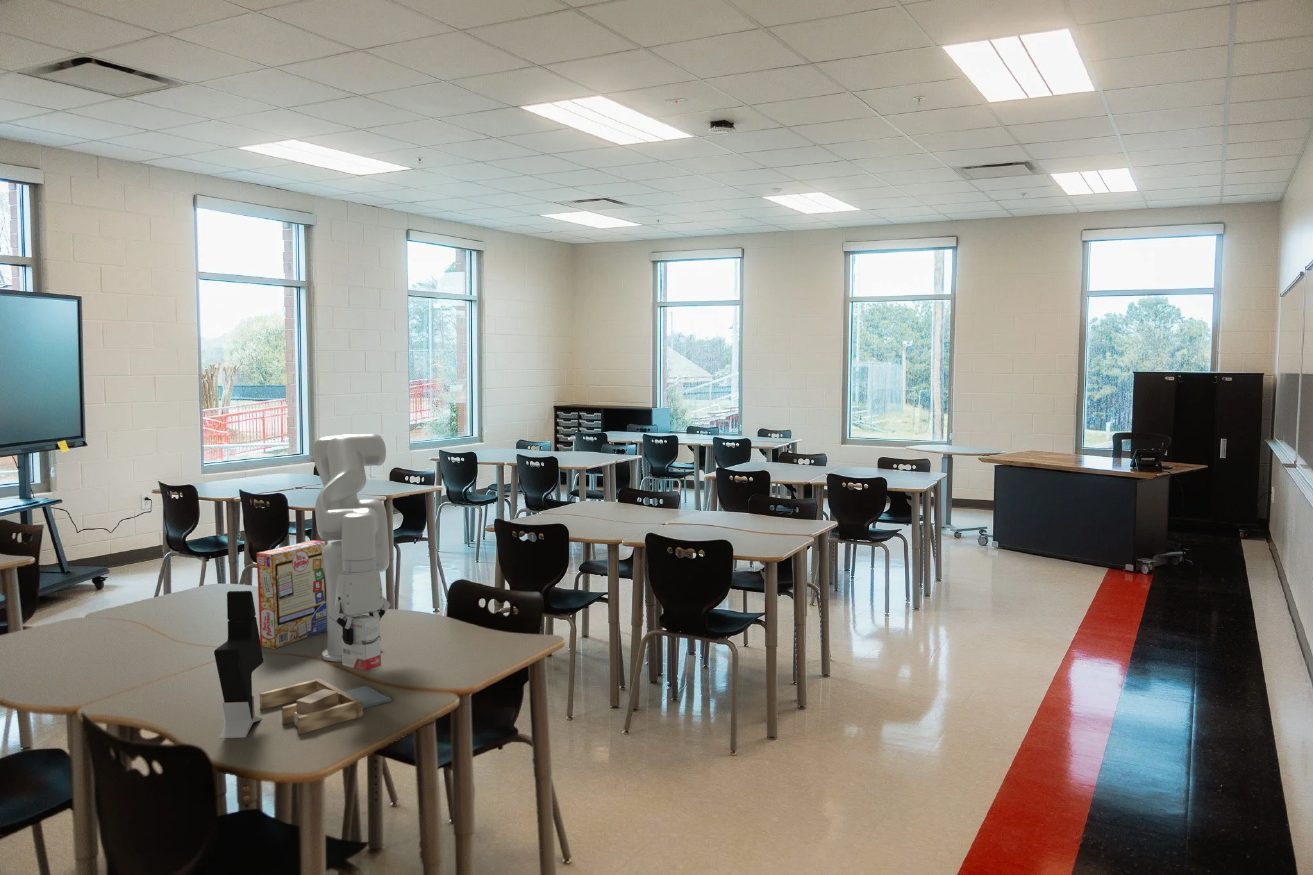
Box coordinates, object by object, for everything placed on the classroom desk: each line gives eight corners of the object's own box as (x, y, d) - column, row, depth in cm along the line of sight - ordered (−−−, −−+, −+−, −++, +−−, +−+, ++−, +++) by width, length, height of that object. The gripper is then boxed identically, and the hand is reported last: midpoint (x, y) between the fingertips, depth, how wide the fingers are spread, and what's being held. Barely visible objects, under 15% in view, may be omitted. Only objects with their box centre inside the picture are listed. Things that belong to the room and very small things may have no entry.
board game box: (315, 628, 276) (312, 539, 274) (330, 630, 273) (328, 541, 271) (258, 646, 257) (256, 551, 255) (274, 649, 255) (271, 553, 253)
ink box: (382, 665, 216) (381, 616, 215) (365, 671, 212) (364, 621, 211) (357, 659, 220) (356, 611, 220) (341, 665, 216) (339, 616, 215)
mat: (365, 688, 224) (365, 685, 224) (390, 700, 215) (390, 698, 215) (334, 696, 218) (334, 694, 218) (358, 709, 210) (358, 707, 210)
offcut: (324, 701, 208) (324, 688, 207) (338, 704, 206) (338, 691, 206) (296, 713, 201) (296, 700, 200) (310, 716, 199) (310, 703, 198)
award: (242, 714, 207) (238, 584, 204) (266, 714, 207) (262, 583, 205) (215, 742, 192) (210, 601, 189) (241, 741, 192) (237, 600, 190)
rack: (318, 692, 221) (318, 678, 221) (362, 716, 206) (362, 701, 205) (259, 707, 211) (258, 692, 211) (301, 734, 196) (300, 718, 195)
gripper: (384, 558, 223) (386, 630, 224) (316, 568, 211) (318, 645, 212) (400, 562, 218) (402, 637, 219) (331, 573, 206) (333, 652, 207)
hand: (361, 640), depth 216 cm, fingers closed on ink box, 5 cm apart
